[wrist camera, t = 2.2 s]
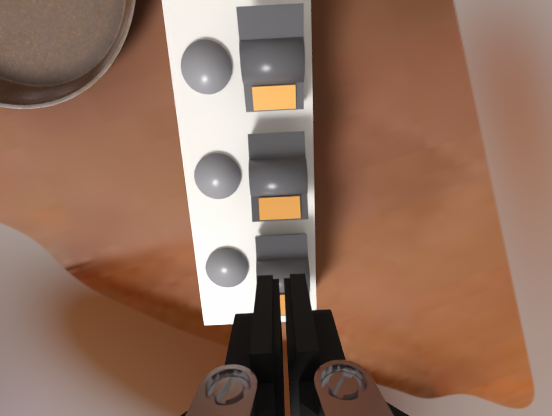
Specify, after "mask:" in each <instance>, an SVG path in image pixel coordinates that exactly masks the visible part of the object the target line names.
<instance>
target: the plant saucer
mask: <svg viewBox="0 0 552 416" xmlns="http://www.w3.org/2000/svg"><path fill="white" fill-rule="evenodd" d="M135 2H136V0H0V107H5V108H15V109H34V108H42V107H48V106H52V105H56V104H59V103H62V102H64V101H67V100H69V99H72V98H74V97H76V96H77V95H79V94H81V93H82V92H84V91H86V90H87V89H88V88H90V87H91V86H92V85H93V84H95V83H96V82H97V81H98V80H99V79H100V78H101V77H102V76H103V75H104V74H105V73H106V71H107V70H108V69H109V68H110V66H111V65H112V63H113V62H114V61H115V59H116V57H117V56H118V54H119V52H120V50H121V48H122V46H123V44H124V42H125V40H126V37H127V34H128V32H129V29H130V25H131V22H132V18H133V14H134V9H135Z"/></svg>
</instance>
